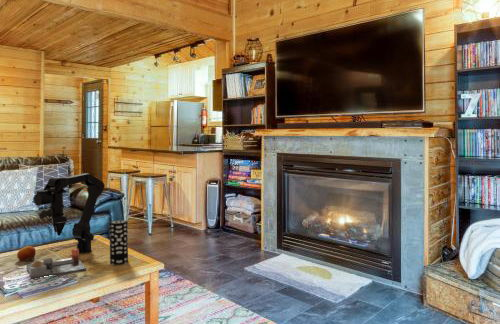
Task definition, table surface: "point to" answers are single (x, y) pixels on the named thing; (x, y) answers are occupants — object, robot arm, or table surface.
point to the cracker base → (55, 269)
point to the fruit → (26, 253)
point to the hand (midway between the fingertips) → (57, 233)
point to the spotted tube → (118, 242)
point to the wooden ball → (37, 264)
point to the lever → (75, 258)
